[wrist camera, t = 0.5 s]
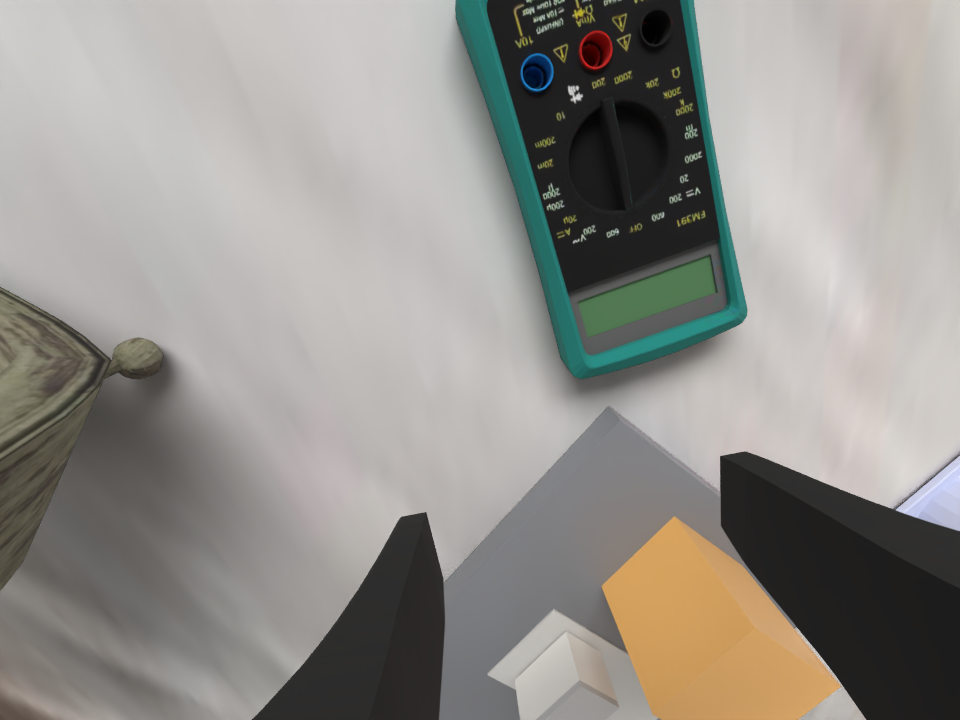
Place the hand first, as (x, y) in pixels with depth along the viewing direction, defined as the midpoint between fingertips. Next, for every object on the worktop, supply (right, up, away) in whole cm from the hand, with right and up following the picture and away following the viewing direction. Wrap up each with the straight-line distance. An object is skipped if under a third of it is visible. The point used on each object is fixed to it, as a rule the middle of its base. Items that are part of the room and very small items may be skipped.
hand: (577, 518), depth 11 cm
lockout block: (+7, -7, +11) cm, 15 cm away
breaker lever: (+2, -12, +13) cm, 17 cm away
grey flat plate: (+4, -10, +14) cm, 18 cm away
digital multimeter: (+2, +11, +7) cm, 14 cm away
